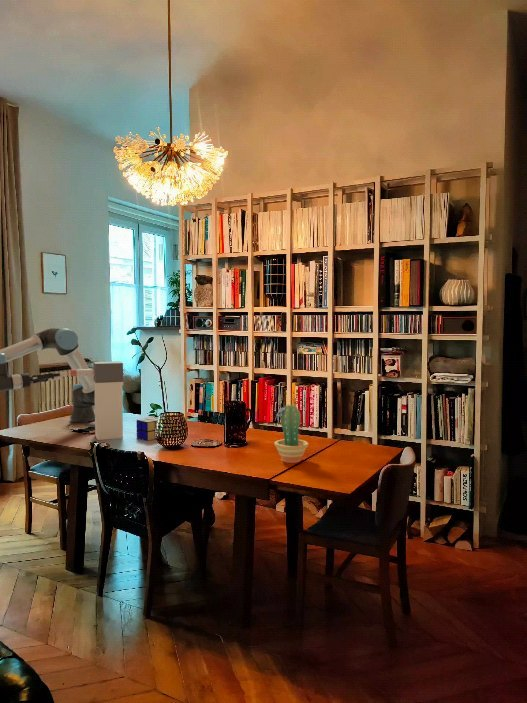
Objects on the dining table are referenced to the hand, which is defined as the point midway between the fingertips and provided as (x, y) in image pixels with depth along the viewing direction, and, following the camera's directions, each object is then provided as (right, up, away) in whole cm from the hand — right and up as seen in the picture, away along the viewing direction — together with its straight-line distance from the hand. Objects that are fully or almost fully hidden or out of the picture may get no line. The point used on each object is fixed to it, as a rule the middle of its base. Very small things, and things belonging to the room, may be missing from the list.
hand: (63, 375), depth 292 cm
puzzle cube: (+48, -33, -6) cm, 59 cm away
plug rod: (+20, +1, -7) cm, 21 cm away
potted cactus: (+121, -36, -48) cm, 136 cm away
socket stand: (+26, -33, -3) cm, 42 cm away
